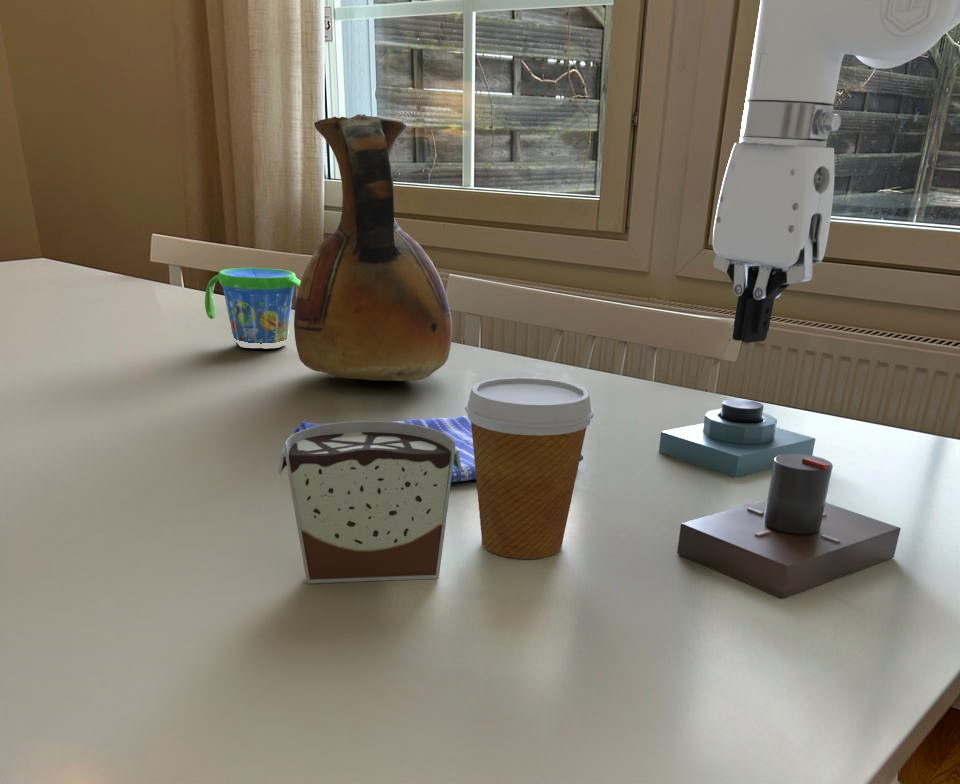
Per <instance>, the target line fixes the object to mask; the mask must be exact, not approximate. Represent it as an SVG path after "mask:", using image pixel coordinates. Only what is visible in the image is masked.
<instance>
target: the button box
mask: <svg viewBox="0 0 960 784" xmlns="http://www.w3.org/2000/svg"><path fill="white" fill-rule="evenodd" d="M721 410H722V408H718V409H717V408H716V409H713V410H708V411H707V412H706V413H705V415H704V419H703V422H702V423H698V424H692V425H687V426H682V427H678V428H673V429H667V430H661V431H660V437H659V446H658V453H660V454H662V455H666V456H668V457H672V458H674V459H678V460H680V461H683V462H686V463H689V464H692V465H695V466H698V467H701V468H704V469H707V470H710V471H713V472H715V473H719V474H722V475H725V476H727V477H731V478H733V479H738V478H742V477H746V476H749V475H753V474H757V473H761V472H765V471H769V470H773V465H774V459H775V458H776V457H777V456H779V455H783V454H805V455H811V456H814V449H815V445H816V437H813V436H808V435H805V434H801V433H797V432H795V431H791V430H788V429H785V428H780V427H778V426H777V424H778V419H776V418H775V417H774V416H772V415H771V414H768V413H765V412H763V413H762V419H761V422H760V423H737V422H730V421H726V420H723V419H721V418H720V417H721Z"/></svg>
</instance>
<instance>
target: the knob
mask: <svg viewBox="0 0 960 784" xmlns="http://www.w3.org/2000/svg"><path fill="white" fill-rule="evenodd" d="M833 467H834V465H833V463H832V462H831V461H829V460H827V459H825V458H823V457H820V456H815V455H812V456H811V455H805V454H783V455H779V456H777V457H776V458H775V459H774V465H773V469H771V470H772V472H771V477H770V482H769V488H768V494H767V499H766V500H767V505H766V510H765V516H764V523H765V524H766V525H767V526H768V527H770V528H772V529H774V530H777V531H780V532H784V533H790V534H812V533H815V532H817V531H819V529H820V526H821V522H822V517H823V512H824V507H825V503H827V498H828V497H827V496H828V492H829V488H830V483H831V477H832V472H833Z"/></svg>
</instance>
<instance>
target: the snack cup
mask: <svg viewBox="0 0 960 784" xmlns="http://www.w3.org/2000/svg"><path fill="white" fill-rule="evenodd" d="M218 281H219V284H220V285H221V287H222V291H223V294H224V299H225V306H226V310H227V315H228V319H229V324H230V329H231V334H232V337H233V339H234V338H235V339H236V340H239V341H244V342H248V343H260V344H262V343H276V342H280V341H284V340H286V339H287V338H288V339H289V335H290V334H289V333H290V326H291V325H290V323H291V314H292V305H293V303H292V302H293V301H292V300H293V297H294V292H295V287H297V289H298V290H299V286H300V282H301V279H299V278H297V276H296V273H295V272H293V271H291V270H286V269H279V268H268V267H236V268H235V267H233V268H226V269H222V270H219V272H218V274H217V275H214V276H212V278H210V279H209V281H208V283H207V285H206V289H205V294H204V308H205V309H204V310H205V313H206V316H207V318H208V319H210V320H213V319H216V317H217V307H216V304H215V302H214V301H215V300H214V291H215V286H216V283H217V282H218Z"/></svg>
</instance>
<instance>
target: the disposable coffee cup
mask: <svg viewBox="0 0 960 784" xmlns="http://www.w3.org/2000/svg"><path fill="white" fill-rule="evenodd" d="M591 404H592V403H591V398H590V392H589V390H587V388H585V387H583V386H581V385H579V384H576V383H572V382H568V381H564V380H558V379H552V378H543V377H530V376H527V377H525V376H524V377H523V376H521V377H517V376H516V377H515V376H514V377H513V376H510V377H499V378H498V377H497V378H491V379H486V380H481V381H479V382H477V383H474V384H473V386H472V387H471V388H470V393H469V396H468V400H466V402H465V403H464V410H465V412H466V413H467V416H468V419H469V420H470V421H471V428H472V439H473V449H474V460H475V471H476V479H475V480H476V482H475V483H476V493H477V503H478V512H479V513H478V515H479V524H480V525H479V527H480V534H481V545H482V546H483V548H484V549H485V550H487V551H489V552H491V553H492V554H495V555H498V556H502V557H506V558H510V559H520V560H521V559H523V560H531V559H532V560H533V559H540V558H547V557H549V556H553V555H556V554H557V553H558V552H560V551H561V549H562V547H563V543H564V538H565V531H566V527H567V523H568V517H569V513H570V508H571V504H572V499H573V495H574V489H575V484H576V480H577V475H578V471H579V465H580V462H581V461H580V456H581V455H582V451H583V446H584V442H585V441H584V440H585V437H586V432H587V429H588V426H590V424H591V419H593V418H594V415H595V409H594V407H593V406H592V405H591ZM579 461H580V462H579Z"/></svg>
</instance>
